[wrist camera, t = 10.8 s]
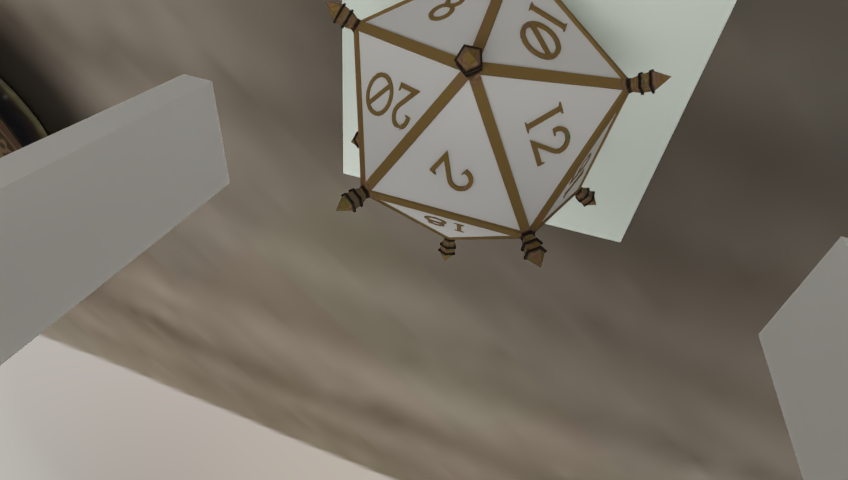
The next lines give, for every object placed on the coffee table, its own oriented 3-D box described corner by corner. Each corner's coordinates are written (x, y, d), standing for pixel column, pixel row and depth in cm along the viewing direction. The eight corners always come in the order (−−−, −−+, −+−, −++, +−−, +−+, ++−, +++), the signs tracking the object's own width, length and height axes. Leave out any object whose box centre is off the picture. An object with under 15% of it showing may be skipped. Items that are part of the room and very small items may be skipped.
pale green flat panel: (793, -133, 12) (800, -133, 12) (619, 233, 20) (620, 242, 19) (348, -190, 14) (340, -191, 13) (348, 166, 22) (343, 173, 21)
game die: (478, 72, 20) (280, 195, 17) (512, -171, 13) (180, -37, 10) (648, 203, 17) (445, 385, 14) (818, -23, 10) (477, 249, 7)
